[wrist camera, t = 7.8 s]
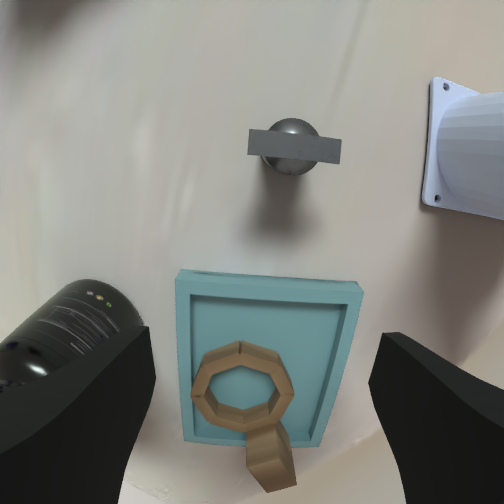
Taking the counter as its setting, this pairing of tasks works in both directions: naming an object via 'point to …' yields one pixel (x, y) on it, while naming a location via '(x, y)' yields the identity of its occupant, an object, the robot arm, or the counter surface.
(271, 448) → the ring
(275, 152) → the grey cylinder and bar
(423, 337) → the counter surface
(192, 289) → the tray
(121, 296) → the supplement bottle
